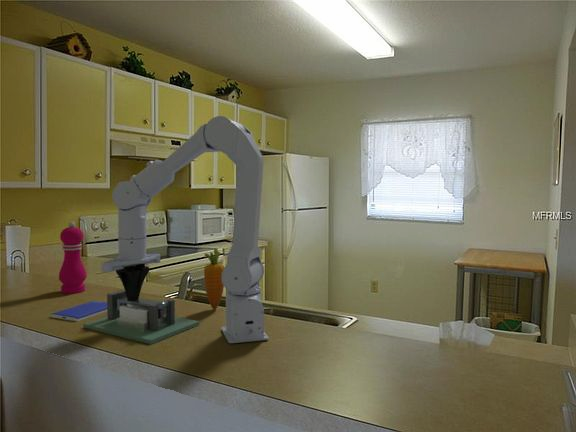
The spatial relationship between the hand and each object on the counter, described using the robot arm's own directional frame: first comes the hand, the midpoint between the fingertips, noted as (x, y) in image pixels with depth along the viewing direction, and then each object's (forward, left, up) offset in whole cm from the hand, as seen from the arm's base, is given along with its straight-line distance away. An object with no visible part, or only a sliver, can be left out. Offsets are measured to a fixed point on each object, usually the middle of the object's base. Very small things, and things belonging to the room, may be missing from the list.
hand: (132, 299), depth 97 cm
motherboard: (-2, -2, -6) cm, 6 cm away
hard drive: (+13, +11, -6) cm, 18 cm away
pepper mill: (+37, +17, -6) cm, 41 cm away
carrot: (+7, -19, -6) cm, 21 cm away
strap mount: (-1, -1, -5) cm, 5 cm away
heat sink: (-3, -2, -5) cm, 6 cm away
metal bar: (-2, -2, -2) cm, 4 cm away
